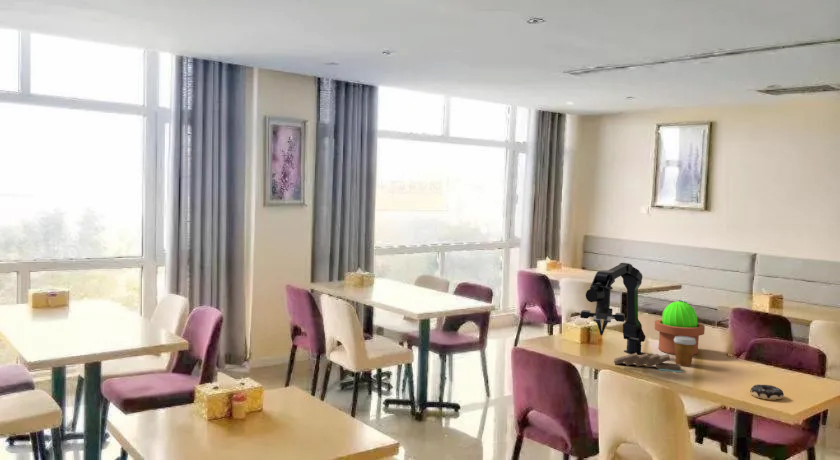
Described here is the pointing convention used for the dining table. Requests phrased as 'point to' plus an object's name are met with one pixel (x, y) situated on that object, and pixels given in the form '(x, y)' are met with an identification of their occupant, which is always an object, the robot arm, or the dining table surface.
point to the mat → (669, 370)
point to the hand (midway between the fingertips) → (601, 335)
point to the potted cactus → (678, 326)
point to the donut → (767, 392)
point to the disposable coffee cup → (684, 350)
